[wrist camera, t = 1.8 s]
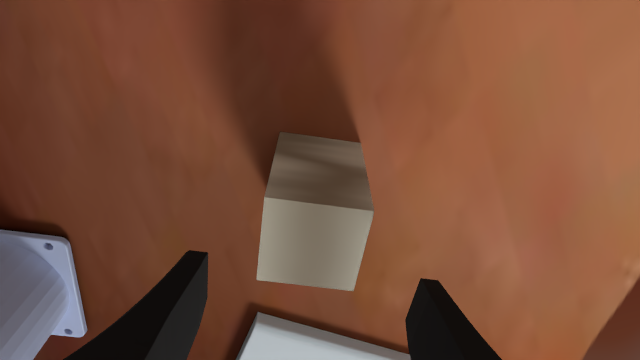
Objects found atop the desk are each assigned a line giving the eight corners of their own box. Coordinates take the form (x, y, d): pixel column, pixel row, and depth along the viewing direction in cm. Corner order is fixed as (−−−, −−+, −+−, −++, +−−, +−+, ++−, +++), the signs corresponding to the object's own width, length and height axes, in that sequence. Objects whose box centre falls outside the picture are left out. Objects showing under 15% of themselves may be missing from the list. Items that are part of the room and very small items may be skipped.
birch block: (272, 200, 22) (256, 279, 16) (280, 131, 20) (264, 197, 14) (346, 209, 22) (353, 291, 17) (360, 142, 20) (374, 211, 15)
